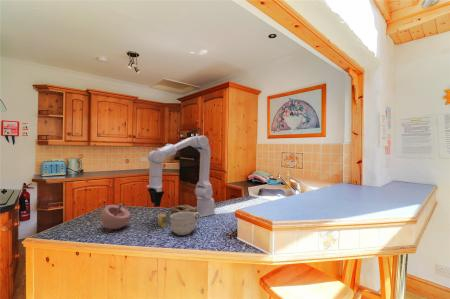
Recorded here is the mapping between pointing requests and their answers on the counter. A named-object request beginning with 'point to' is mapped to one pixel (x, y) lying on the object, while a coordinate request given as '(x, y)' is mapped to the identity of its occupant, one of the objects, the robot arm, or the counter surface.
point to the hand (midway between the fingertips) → (155, 204)
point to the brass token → (162, 220)
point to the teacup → (184, 222)
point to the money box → (183, 209)
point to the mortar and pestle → (115, 216)
